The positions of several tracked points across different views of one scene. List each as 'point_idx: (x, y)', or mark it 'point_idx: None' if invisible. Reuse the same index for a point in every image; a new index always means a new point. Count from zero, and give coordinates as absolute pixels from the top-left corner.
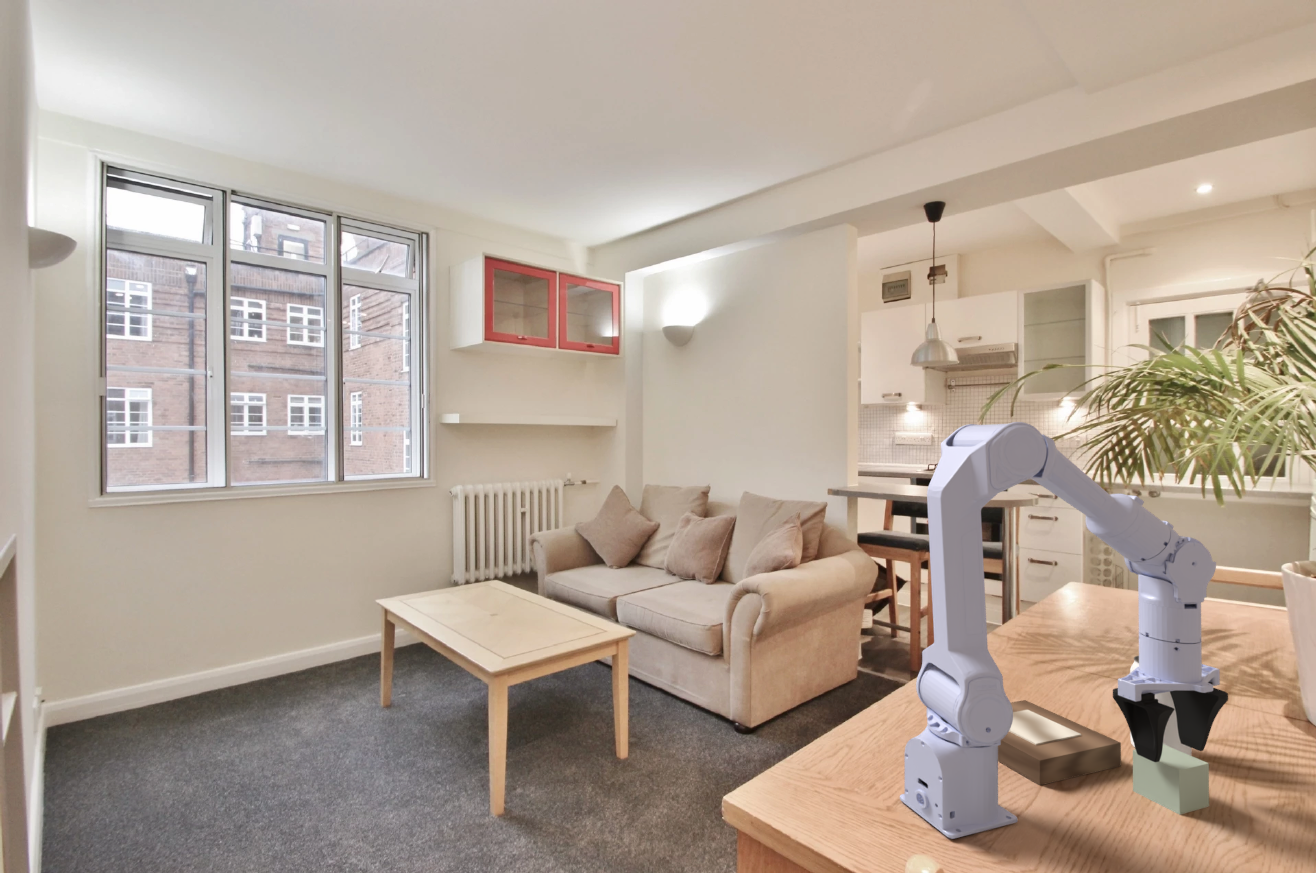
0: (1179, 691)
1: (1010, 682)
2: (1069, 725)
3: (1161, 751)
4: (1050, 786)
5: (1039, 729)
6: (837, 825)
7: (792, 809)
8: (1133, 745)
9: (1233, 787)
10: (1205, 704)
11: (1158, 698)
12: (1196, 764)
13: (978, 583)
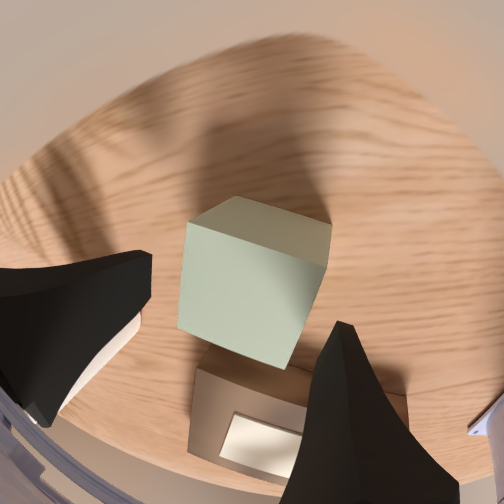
0: (44, 396)
1: (126, 429)
2: (211, 422)
3: (343, 338)
4: (397, 388)
5: (280, 450)
6: None
7: None
8: (136, 332)
9: (122, 192)
10: (26, 321)
11: None
12: (228, 243)
13: None
